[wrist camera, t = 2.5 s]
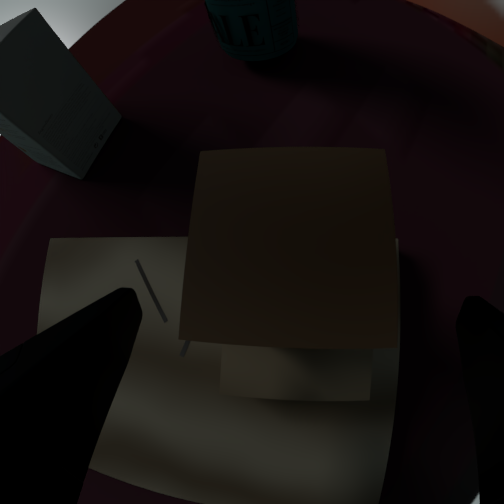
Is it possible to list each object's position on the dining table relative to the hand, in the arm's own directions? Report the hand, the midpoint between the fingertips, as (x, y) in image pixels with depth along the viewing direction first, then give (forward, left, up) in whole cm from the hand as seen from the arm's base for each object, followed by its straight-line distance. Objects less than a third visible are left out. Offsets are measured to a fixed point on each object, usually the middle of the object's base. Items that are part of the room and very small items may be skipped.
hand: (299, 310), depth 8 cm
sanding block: (+1, 0, -7) cm, 7 cm away
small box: (+14, +19, -9) cm, 25 cm away
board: (-3, +6, -9) cm, 11 cm away
